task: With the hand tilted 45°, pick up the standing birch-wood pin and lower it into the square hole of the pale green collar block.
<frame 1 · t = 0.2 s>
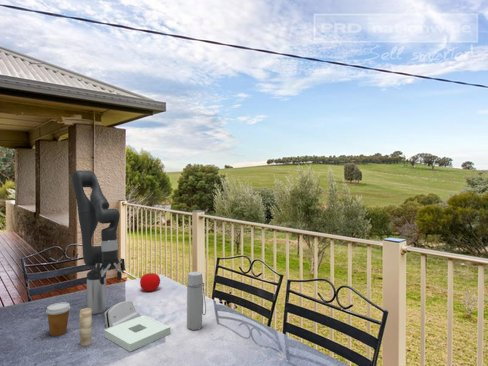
hand: (110, 282, 162), 18 cm above the table, tool pointing down, fingers open, 8 cm apart
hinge: (121, 322, 157), on the table
birch pin: (85, 343, 136), on the table
disposable coffee cup: (58, 333, 146), on the table
collar block: (137, 335, 144), on the table
water bottle: (196, 327, 152), on the table
tomato: (149, 290, 203), on the table
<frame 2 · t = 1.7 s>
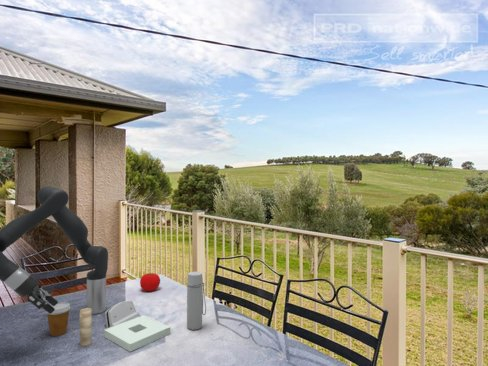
hand: (54, 307, 132), 17 cm above the table, tool tilted 45°, fingers open, 8 cm apart
nothing on the table moved.
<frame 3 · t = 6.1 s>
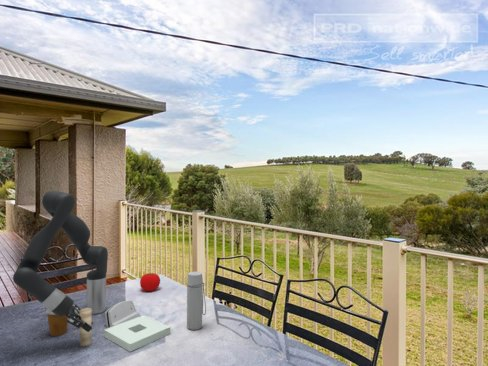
hand: (90, 327, 137), 6 cm above the table, tool tilted 45°, fingers closed on birch pin, 4 cm apart
birch pin: (85, 343, 136), on the table, touching gripper
everything else where it was.
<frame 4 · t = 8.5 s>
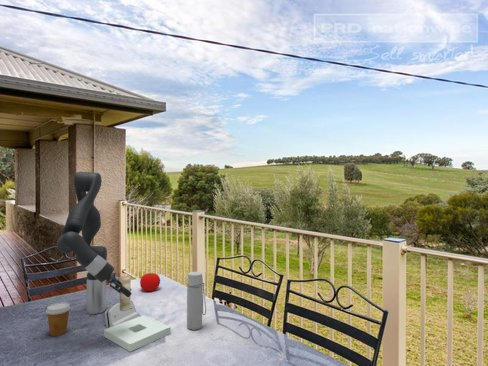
hand: (129, 293, 142), 19 cm above the table, tool tilted 45°, fingers closed on birch pin, 4 cm apart
birch pin: (125, 308, 142), point 12 cm above the table, touching gripper
everything else where it was.
when the fingers open (8 cm above the table, at t = 11.3 s): birch pin drops 1 cm, resting in collar block.
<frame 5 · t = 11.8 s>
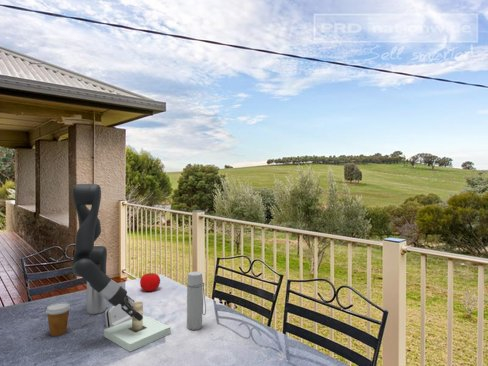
hand: (140, 315, 144), 9 cm above the table, tool tilted 45°, fingers open, 8 cm apart
birch pin: (137, 335, 144), resting in collar block
everything else where it was.
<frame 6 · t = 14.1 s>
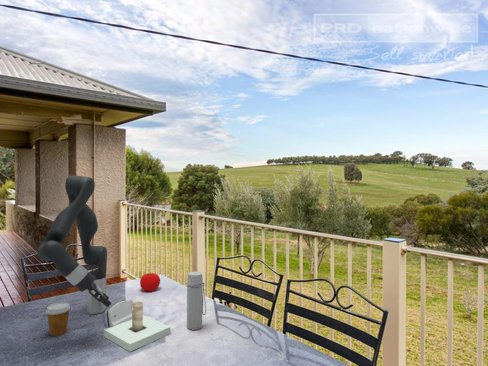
hand: (108, 302, 141), 15 cm above the table, tool tilted 40°, fingers open, 8 cm apart
nothing on the table moved.
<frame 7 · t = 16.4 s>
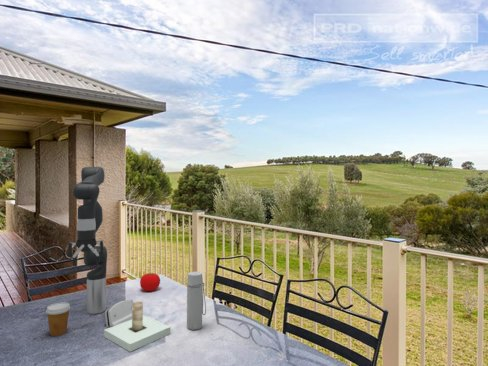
hand: (86, 264, 146), 30 cm above the table, tool pointing down, fingers open, 8 cm apart
at the end: birch pin 0.1 cm off-centre on the collar block, point 0.0 cm above the collar block's base; birch pin tilted 0°; the gripper is holding nothing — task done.
